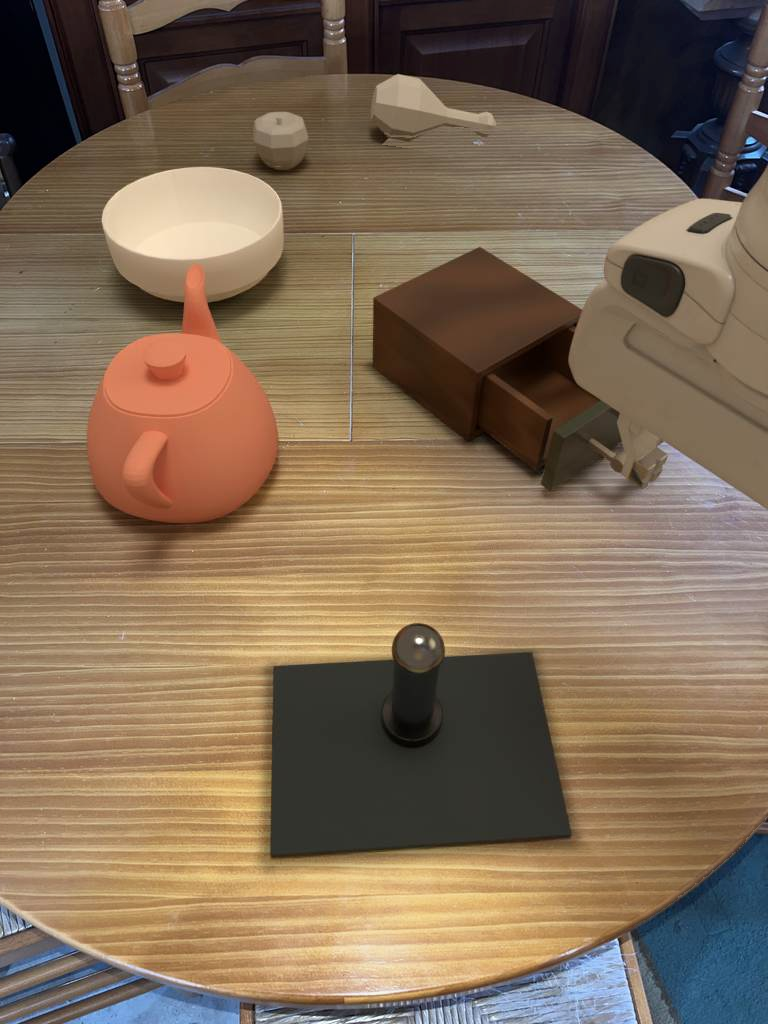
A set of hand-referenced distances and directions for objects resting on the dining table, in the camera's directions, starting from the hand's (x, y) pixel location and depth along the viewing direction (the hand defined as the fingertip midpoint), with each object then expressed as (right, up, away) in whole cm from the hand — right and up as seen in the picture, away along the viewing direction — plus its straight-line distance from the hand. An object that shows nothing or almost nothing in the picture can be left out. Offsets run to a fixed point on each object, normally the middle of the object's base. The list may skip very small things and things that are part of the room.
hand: (710, 527), depth 43 cm
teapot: (-35, +6, +34) cm, 49 cm away
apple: (-32, +49, +71) cm, 92 cm away
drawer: (0, +9, +36) cm, 37 cm away
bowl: (-39, +28, +53) cm, 71 cm away
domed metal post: (-15, -14, +16) cm, 26 cm away
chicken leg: (-10, +56, +78) cm, 96 cm away
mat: (-15, -16, +15) cm, 27 cm away
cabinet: (-8, +15, +42) cm, 46 cm away
